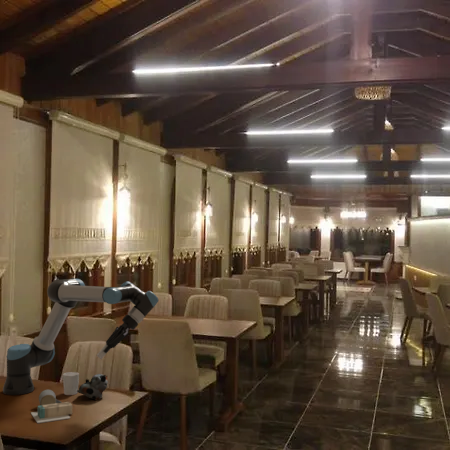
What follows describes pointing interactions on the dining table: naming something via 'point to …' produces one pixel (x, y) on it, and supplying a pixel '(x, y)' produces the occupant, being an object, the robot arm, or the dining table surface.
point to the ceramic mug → (48, 397)
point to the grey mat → (49, 419)
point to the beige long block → (54, 410)
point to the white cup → (70, 383)
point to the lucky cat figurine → (94, 387)
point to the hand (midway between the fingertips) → (98, 357)
